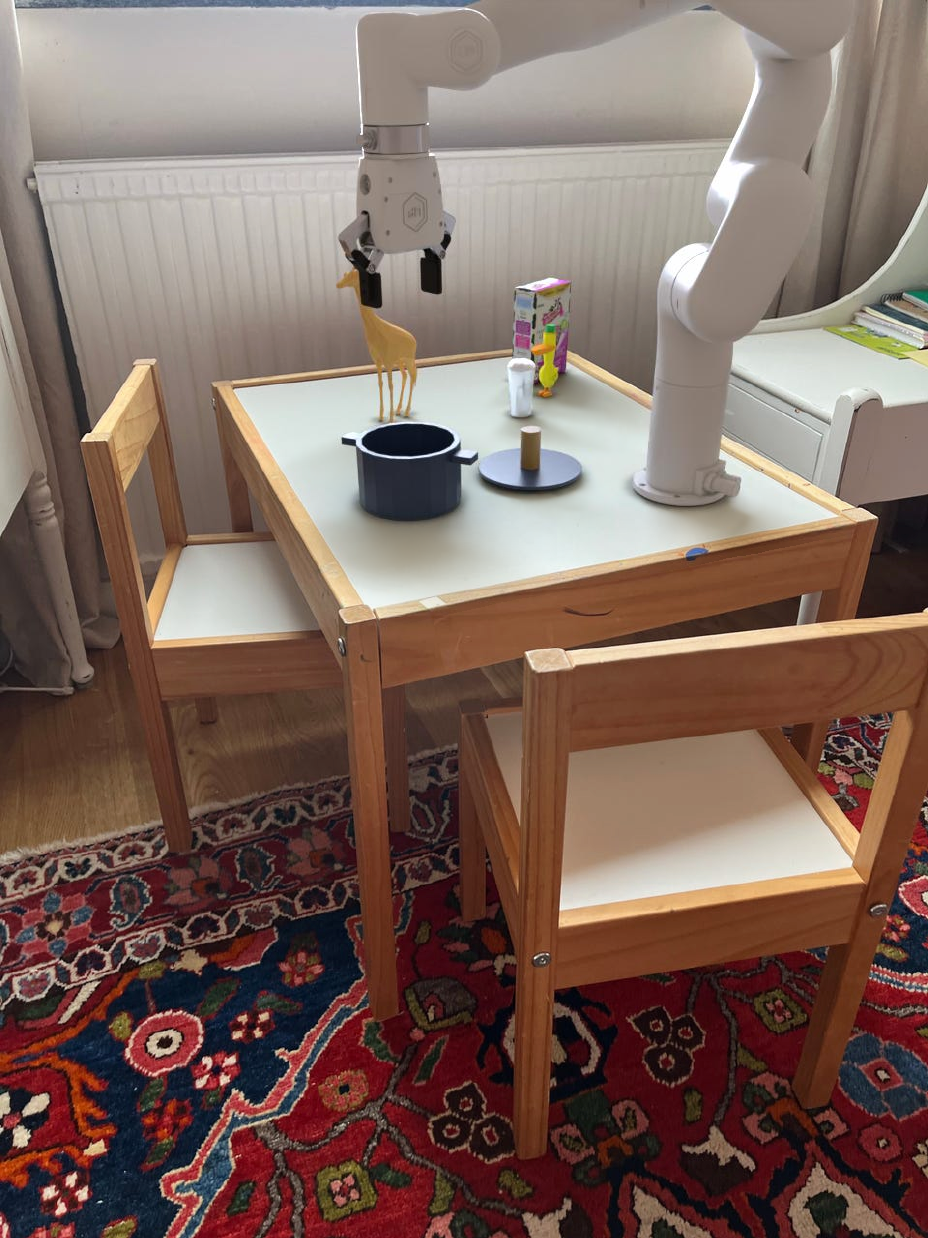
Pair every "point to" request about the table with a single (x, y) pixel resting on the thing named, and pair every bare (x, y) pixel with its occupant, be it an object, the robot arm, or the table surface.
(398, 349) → the giraffe
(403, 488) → the blue cooking pot
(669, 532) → the table surface
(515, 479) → the lid
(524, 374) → the milkshake
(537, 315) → the candy bar box
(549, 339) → the toy figure
